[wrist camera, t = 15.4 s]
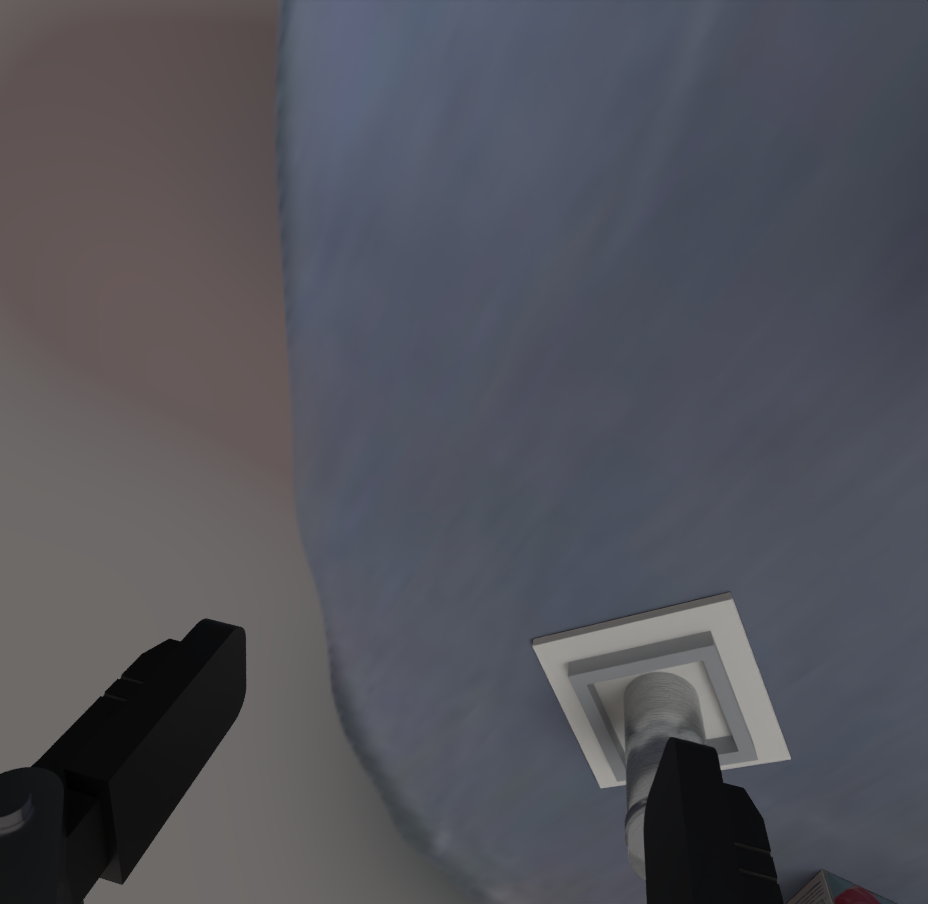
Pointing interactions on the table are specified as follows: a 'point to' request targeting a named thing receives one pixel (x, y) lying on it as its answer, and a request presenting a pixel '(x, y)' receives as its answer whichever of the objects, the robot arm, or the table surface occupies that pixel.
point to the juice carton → (835, 892)
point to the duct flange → (673, 651)
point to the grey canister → (653, 742)
